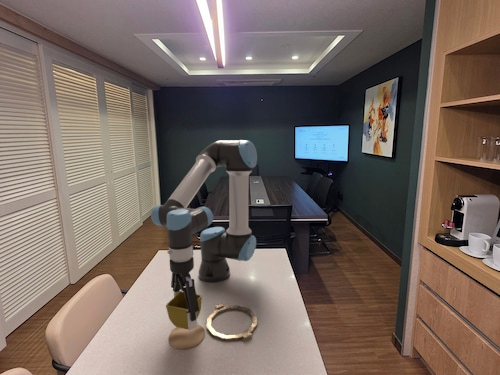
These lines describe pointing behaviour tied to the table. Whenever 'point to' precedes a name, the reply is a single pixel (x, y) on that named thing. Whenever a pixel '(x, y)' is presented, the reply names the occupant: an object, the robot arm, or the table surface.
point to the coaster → (186, 337)
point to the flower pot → (180, 310)
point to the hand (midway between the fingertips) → (185, 317)
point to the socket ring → (244, 335)
